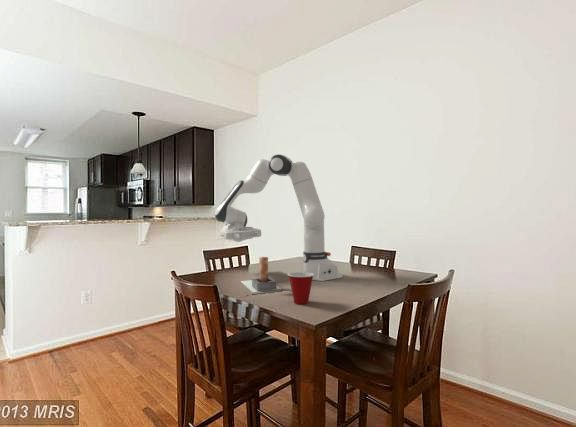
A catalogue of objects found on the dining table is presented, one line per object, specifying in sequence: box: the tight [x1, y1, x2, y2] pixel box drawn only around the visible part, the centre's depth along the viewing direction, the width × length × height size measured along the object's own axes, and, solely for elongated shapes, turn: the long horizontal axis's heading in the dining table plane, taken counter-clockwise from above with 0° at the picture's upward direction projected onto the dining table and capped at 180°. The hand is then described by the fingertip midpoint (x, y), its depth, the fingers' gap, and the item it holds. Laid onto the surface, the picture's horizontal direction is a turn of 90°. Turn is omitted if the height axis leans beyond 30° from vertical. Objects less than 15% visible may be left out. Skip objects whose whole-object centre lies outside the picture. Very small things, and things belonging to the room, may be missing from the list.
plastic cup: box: [287, 271, 314, 305], centre depth 134 cm, size 11×11×12 cm
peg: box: [258, 256, 269, 282], centre depth 152 cm, size 4×4×14 cm
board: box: [240, 276, 283, 296], centre depth 157 cm, size 14×22×5 cm, turn 22°
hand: (248, 235), depth 167 cm, fingers open, 8 cm apart
